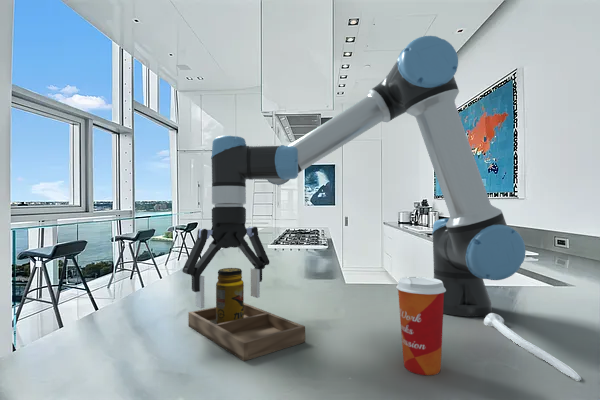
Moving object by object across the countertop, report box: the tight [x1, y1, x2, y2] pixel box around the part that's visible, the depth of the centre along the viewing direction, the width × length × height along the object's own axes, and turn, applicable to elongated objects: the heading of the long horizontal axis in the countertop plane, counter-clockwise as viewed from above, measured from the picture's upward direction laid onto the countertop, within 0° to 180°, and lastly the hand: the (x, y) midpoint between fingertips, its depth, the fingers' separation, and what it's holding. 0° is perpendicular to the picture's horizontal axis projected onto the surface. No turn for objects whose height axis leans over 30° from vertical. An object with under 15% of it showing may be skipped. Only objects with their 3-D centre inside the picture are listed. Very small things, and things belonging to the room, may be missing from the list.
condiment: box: [210, 267, 245, 324], centre depth 78 cm, size 7×8×12 cm
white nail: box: [483, 312, 582, 382], centre depth 66 cm, size 28×4×3 cm, turn 178°
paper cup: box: [395, 276, 446, 376], centre depth 57 cm, size 8×8×14 cm
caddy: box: [187, 302, 306, 362], centre depth 73 cm, size 24×14×3 cm, turn 39°
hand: (229, 301), depth 78 cm, fingers open, 13 cm apart
